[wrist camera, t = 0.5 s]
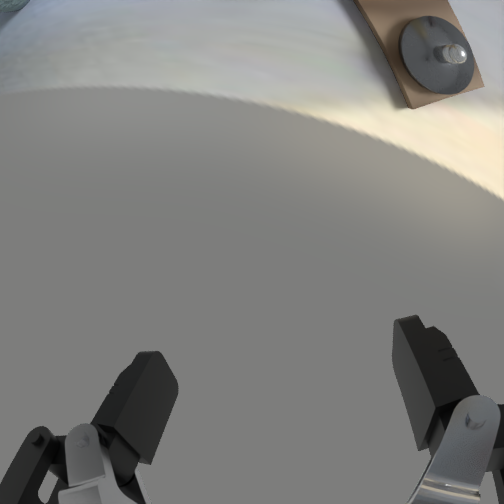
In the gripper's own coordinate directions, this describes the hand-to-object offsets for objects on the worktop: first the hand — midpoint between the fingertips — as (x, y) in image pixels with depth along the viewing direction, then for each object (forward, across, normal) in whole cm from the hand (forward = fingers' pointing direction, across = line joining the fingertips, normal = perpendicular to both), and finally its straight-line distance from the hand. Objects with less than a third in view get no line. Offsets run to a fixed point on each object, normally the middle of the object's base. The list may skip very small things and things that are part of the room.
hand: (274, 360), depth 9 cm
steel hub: (+22, -20, -14) cm, 33 cm away
